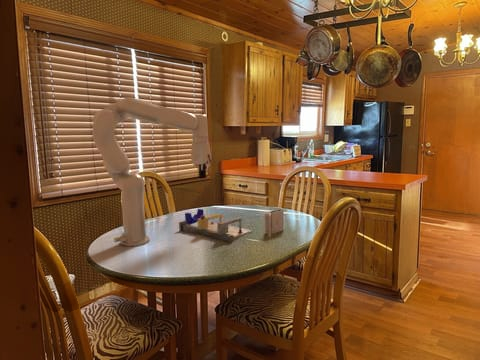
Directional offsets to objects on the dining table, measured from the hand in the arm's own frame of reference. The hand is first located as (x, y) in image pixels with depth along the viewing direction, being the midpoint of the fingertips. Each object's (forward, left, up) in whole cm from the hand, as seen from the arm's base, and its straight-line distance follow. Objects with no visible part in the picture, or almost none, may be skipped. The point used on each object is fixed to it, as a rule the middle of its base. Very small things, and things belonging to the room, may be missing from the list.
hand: (202, 177), depth 178 cm
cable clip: (+8, +17, -27) cm, 33 cm away
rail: (-7, -9, -26) cm, 28 cm away
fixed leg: (-2, -20, -25) cm, 32 cm away
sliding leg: (-2, -7, -25) cm, 26 cm away
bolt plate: (+5, -8, -26) cm, 28 cm away
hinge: (+17, -31, -27) cm, 44 cm away
